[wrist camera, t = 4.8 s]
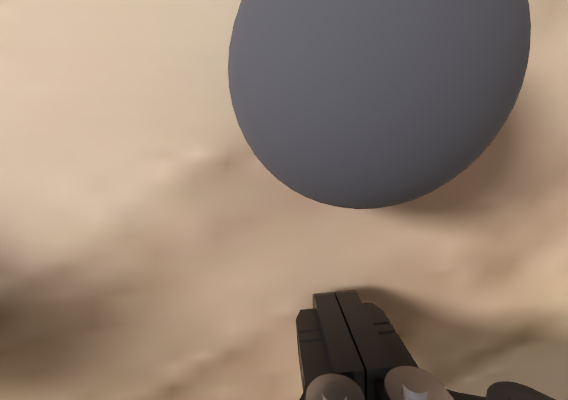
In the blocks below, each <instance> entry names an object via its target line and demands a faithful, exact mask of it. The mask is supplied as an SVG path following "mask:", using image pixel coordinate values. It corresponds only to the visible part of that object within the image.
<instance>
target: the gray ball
mask: <svg viewBox="0 0 568 400" xmlns="http://www.w3.org/2000/svg"><path fill="white" fill-rule="evenodd" d="M530 30H531V23H530V11H529V3H528V0H242V1H241V3H240V7H239V10H238V13H237V16H236V19H235V22H234V26H233V31H232V37H231V42H230V47H229V61H228V75H229V88H230V94H231V99H232V105H233V108H234V112H235V115H236V118H237V121H238V124H239V126H240V128H241V130H242V133H243V135H244V137H245V139H246V141H247V143H248V144H249V146H250V147H251V149H252V151H253V152H254V154H255V155H256V156H257V158H258V159H259V160H260V161H261V163H262V164H263V165H264V166H265V167H266V169H267V170H269V171H270V172H271V173H272V174H273V175H274V176H275V177H276V178H277V179H278V180H279V181H281V182H282V183H284V184H285V185H286V186H288V187H289V188H291V189H292V190H294V191H296V192H298V193H299V194H301V195H303V196H305V197H307V198H310V199H312V200H315V201H318V202H320V203H324V204H329V205H333V206H337V207H343V208H353V209H372V208H380V207H387V206H392V205H396V204H400V203H403V202H407V201H410V200H414V199H416V198H418V197H421V196H423V195H425V194H428V193H430V192H432V191H433V190H435V189H437V188H439V187H440V186H442V185H444V184H445V183H447V182H448V181H450V180H451V179H453V178H454V177H456V176H457V175H458V174H460V173H461V172H462V171H464V170H465V169H466V168H467V167H468V166H469V165H470V164H471V163H473V162H474V161H475V160H476V159H477V158H478V157H479V156H480V155H481V153H482V152H483V151H484V150H485V149H486V148H487V146H488V145H489V144H490V143H491V142H492V140H493V139H494V137H495V136H496V135H497V133H498V132H499V130H500V129H501V127H502V126H503V124H504V123H505V121H506V120H507V118H508V116H509V114H510V112H511V110H512V108H513V106H514V104H515V102H516V99H517V97H518V94H519V92H520V89H521V87H522V83H523V80H524V76H525V72H526V69H527V63H528V57H529V50H530Z"/></svg>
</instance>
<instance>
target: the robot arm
mask: <svg viewBox="0 0 568 400" xmlns="http://www.w3.org/2000/svg"><path fill="white" fill-rule="evenodd" d="M296 328H297V341H298V354H299V363H300V370H301V378H302V386H303V394H302V396H301V398H300V400H555V399H553V398H551V397H549V396H547V395H544V394H542V393H540V392H538V391H536V390H534V389H532V388H529V387H527V386H524V385H521V384H518V383H514V382H497V383H494V384H492V385H491V386H490V387H489V388H488V390H487V395H486V397H480V396H475V395H469V394H463V393H458V392H454V391H450V390H448V389H446V388H445V387H444V386H443V385H442V383H441V382H440V381H439V380H438V379H437V378H436V377H435V376H433V375H432V374H430V373H429V372H427V371H425V370H423V369H420V368H418V366H417V364H416V363H415V361H414V360H413V358H412V356H411V355H410V353H409V352H408V350H407V348H406V347H405V345H404V344H403V342H402V340H401V339H400V337H399V336H398V334H397V333H396V332H395V329H394V328H393V326H392V325H391V324H390V321H389V320H388V318H387V317H386V315H385V313H384V312H383V311H382V310H381V309H379V308H378V307H377V306H375V305H374V304H373V303H365V304H362V302H361V301H360V299H359V297H358V295H357V293H356V291H355V290H348V291H338V292H334V293H333V292H328V293H318V294H313V309H304V310H300V312H299V314H298V316H297V319H296Z"/></svg>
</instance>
